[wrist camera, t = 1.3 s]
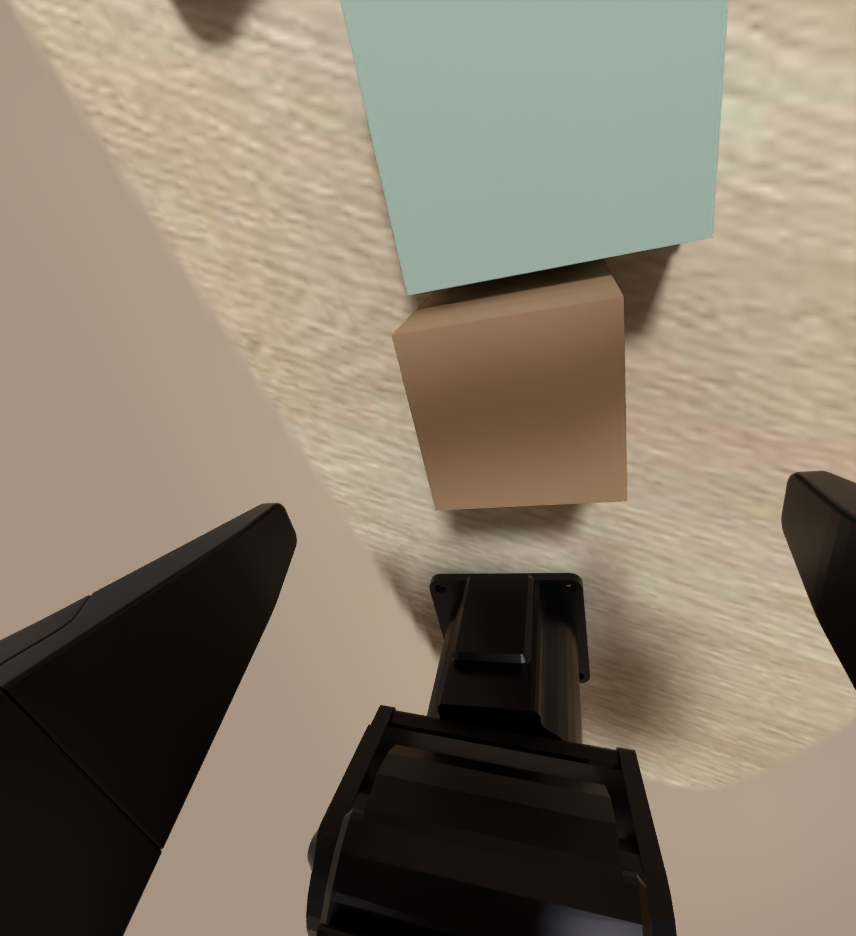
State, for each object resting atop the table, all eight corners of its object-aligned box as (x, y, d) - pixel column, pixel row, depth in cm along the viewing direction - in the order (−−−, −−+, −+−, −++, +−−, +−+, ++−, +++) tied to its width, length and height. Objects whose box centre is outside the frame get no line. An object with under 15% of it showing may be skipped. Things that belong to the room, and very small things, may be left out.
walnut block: (608, 415, 16) (627, 501, 12) (463, 430, 18) (435, 510, 13) (602, 258, 14) (623, 296, 10) (435, 289, 15) (391, 335, 11)
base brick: (685, 227, 13) (717, 241, 10) (429, 278, 15) (404, 300, 12) (702, -175, 9) (756, -298, 7) (366, -34, 12) (314, -90, 9)
